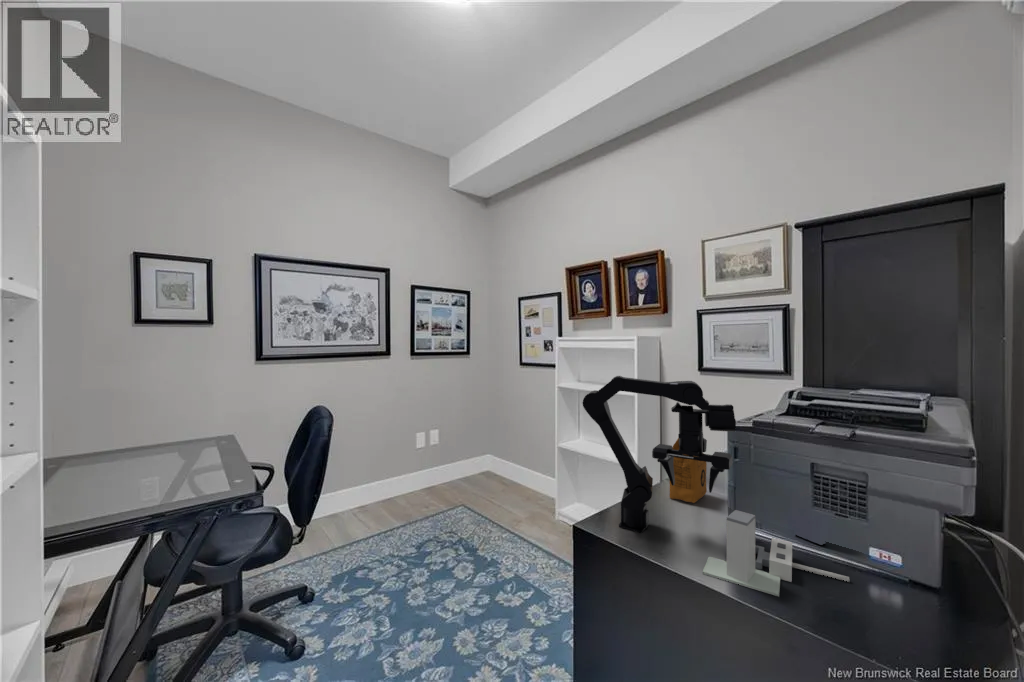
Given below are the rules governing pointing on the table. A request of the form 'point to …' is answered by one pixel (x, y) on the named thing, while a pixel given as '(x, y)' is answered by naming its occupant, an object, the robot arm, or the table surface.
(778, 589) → the sage mat
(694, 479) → the coffee package
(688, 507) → the table surface
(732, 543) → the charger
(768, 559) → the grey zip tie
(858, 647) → the table surface
